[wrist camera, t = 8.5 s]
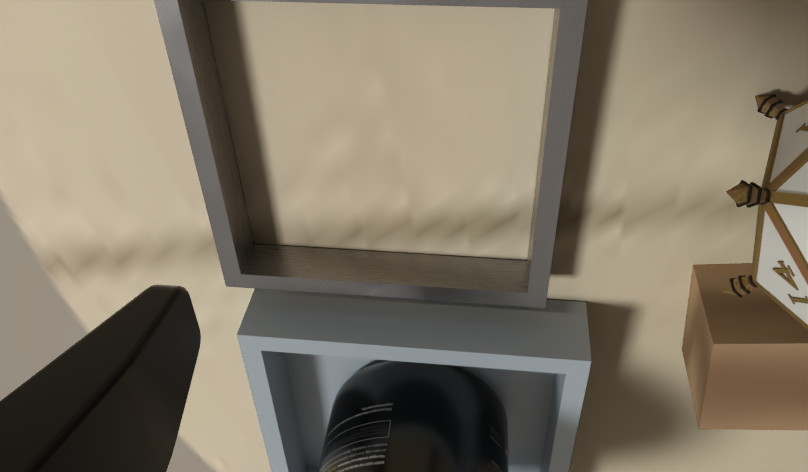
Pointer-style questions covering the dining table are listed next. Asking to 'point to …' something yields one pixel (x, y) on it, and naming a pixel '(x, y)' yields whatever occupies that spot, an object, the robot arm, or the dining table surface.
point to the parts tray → (422, 343)
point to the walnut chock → (743, 355)
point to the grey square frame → (353, 267)
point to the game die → (780, 213)
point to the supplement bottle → (416, 422)
